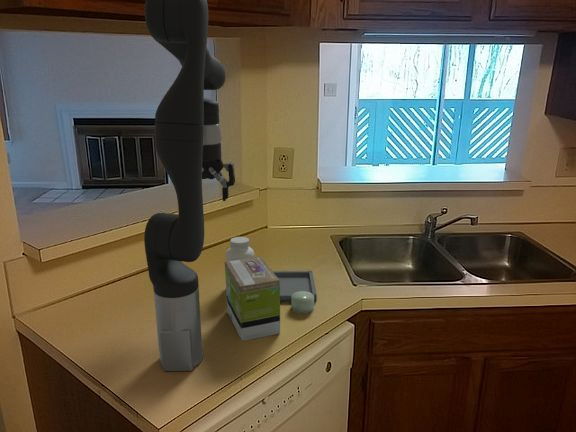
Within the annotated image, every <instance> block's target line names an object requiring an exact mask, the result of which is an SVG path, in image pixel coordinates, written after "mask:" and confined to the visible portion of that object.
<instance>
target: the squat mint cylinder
mask: <svg viewBox="0 0 576 432" xmlns="http://www.w3.org/2000/svg"><path fill="white" fill-rule="evenodd" d="M290 303H291V306H290V307H291V310H292V311H293V312H295V313H297V314H303V315H304V314H309V313H312V312H313V311H314V309H315V301H314V295H313V294H312V293H310V292H306V291H299V292H295V293H293V294H292V296H291V302H290Z"/></svg>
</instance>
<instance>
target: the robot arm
mask: <svg viewBox="0 0 576 432" xmlns="http://www.w3.org/2000/svg"><path fill="white" fill-rule="evenodd" d="M144 19H145V24H146V28H147V30H148V33H149V35H150V36H151V37H152V39H153V40H155V41H156V42H157V43H158V44H159V45H161V46H162V47H163V48H164V49H165V50H167V51H168V52H169V53H170V54H171V55H172V56H173V57H174V58H176V59H177V61H178V62H179V63H180V65H181V68H180V71H179V72H178V74H177V77H176V78H175V80H174V81H173V83H172V84H171V86H170V87H169V89H168V90H167V92H166V93H165V94H164V96H163V98H162V99H161V101H160V102H159V105H158V106H157V109H156V111H155V115H154V147H155V151H156V154H157V156H158V158H159V161H160V162H161V165H162V166H163V168H164V170H165V172H166V174H167V176H168V177H169V179H170V181H171V183H172V185H173V187H174V191H175V195H176V199H177V200H176V201H177V207H178V208H177V209H178V213H177V214H176V213H175V214H174V213H167V212H158V213H157V212H156V213H155V214H152V216H151V217H150V218H148V221H147V222H146V224H145V228H144V237H143V242H144V243H143V245H144V252H145V258H146V265H147V271H148V278H149V280H150V282H151V285H152V289H153V297H154V298H153V299H154V309H155V310H154V311H155V320H156V321H155V322H156V333H157V344H158V353H159V354H158V356H159V363H160V366H161V367H162V371H163V372H187V371H188V372H192V371H193V370H194V368H195V367H197V366H198V365H199V364H200V363H201V362H202V361H203V357H204V356H203V355H204V354H203V340H202V325H201V323H202V322H201V306H200V287H199V286H200V285H199V284H200V283H199V276H198V273H197V272H196V271H195V270H194V269H193V268H191V267H189V266H187V265H186V264H184V263H193V262H196V261H197V260H198V259H199V257H200V256H201V254H202V252H203V249H204V244H205V214H204V201H203V199H204V198H203V180H207V179H208V180H214V179H216V180H217V182H219V184H220V185H221V186H222V188H221V189H222V191H221V192H222V193H221V194H222V202H226V201H227V200H228V198H229V188H230V187H233V186H234V185H235V183H236V177H235V176H236V175H235V163H234V162H233V161H231V162H229V163H228V162H225V163H223V160H222V133H221V127H220V106H219V102H218V101H216V100H214V99H211V98H206V97H205V96H204V95H205V94H204V93H205V92H204V91H218V90H219V89H221V88H222V87H224V85H225V82H226V71H225V68H224V66H223V63H222V62H221V61H220V60H219V59H217V58H216V57H215V56H213V54H211V53H210V51H209V48H208V46H207V45H208V44H207V43H208V31H209V29H208V28H209V6H208V0H145V2H144ZM223 169H225V171H226V172H228V180H227V179H226V178H225V176H224V173H222V172H221V171H222V170H223ZM183 262H184V263H183Z"/></svg>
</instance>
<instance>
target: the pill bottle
mask: <svg viewBox="0 0 576 432" xmlns="http://www.w3.org/2000/svg"><path fill="white" fill-rule="evenodd" d="M229 245H230V246H229V248H228V249H227V250H226V252H225V262H228V261H235V260H241V259H248V258H254V257H255V251H254V249H253V248H252V247H250V239H249V238H248V237H245V236H235V237H232V238H231V239H230V240H229Z"/></svg>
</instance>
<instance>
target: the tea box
mask: <svg viewBox="0 0 576 432" xmlns="http://www.w3.org/2000/svg"><path fill="white" fill-rule="evenodd" d="M273 271H274V270H272V269H271V267H269V265H268V264H267V263H266V261H265V260H264V259H263V257H262V256H261V255H260V256H254V258H248V259H241V260H235V261H228V262H226V261H224V273H225V295H226V296H225V297H226V310H227V314H228V316H229V317H230V320H231V322H232V324H233V325H234V328H235V330H236V332H237V335H238V336H239V338H240V340H241V342H245V341H250V340H255V339H261V338H264V337H265V338H266V337H269V336H274V335H279V334H281V302H280V280H279V279H278V278H277V276H276V275H275V274H274V273H273Z"/></svg>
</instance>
